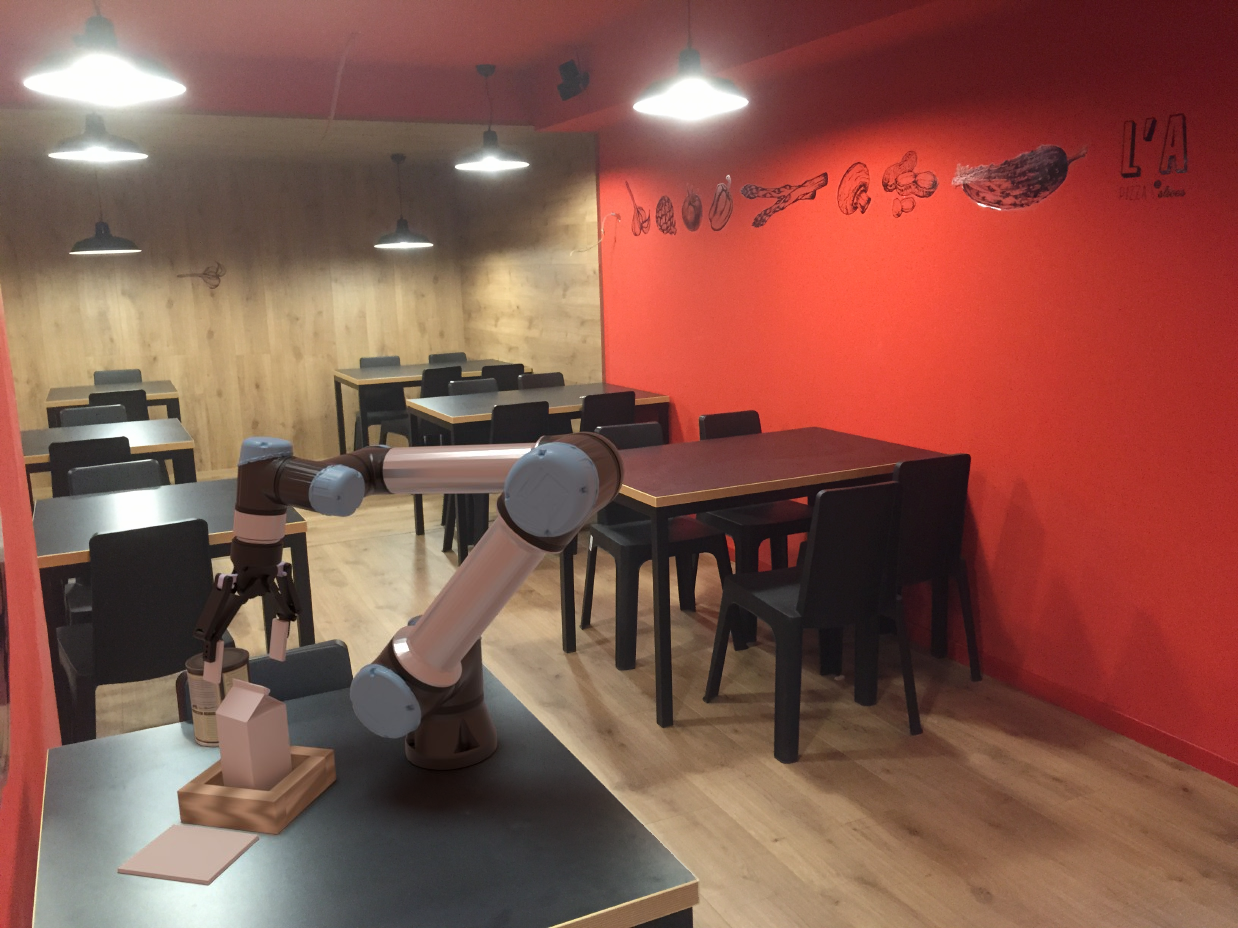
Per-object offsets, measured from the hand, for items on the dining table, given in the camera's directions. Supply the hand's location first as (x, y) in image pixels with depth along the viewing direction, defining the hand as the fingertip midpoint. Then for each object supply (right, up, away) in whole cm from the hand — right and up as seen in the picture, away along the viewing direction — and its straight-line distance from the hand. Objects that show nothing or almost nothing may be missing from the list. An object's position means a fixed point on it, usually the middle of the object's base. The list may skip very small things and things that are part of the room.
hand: (245, 669), depth 151 cm
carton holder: (+4, -19, -4) cm, 20 cm away
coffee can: (-11, -15, +19) cm, 27 cm away
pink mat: (-1, -22, -18) cm, 28 cm away
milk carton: (+4, -19, -4) cm, 20 cm away
